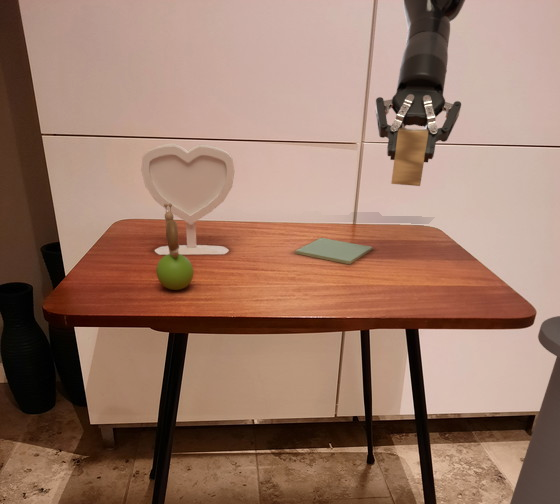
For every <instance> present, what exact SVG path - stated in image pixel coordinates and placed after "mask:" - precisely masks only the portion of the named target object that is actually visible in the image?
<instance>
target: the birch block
mask: <svg viewBox="0 0 560 504" xmlns="http://www.w3.org/2000/svg"><path fill="white" fill-rule="evenodd" d="M427 138H428V129H424V128H416V127H415V128H414V127H405V128H399V130H398V135H397V143H396V152H395V158H394V160H393V168H392V174H391V175H392V176H391V181H390V184H391V185H402V186H415V187H421V182H422V177H423V171H424V163H425V162H424V158H425V151H426V145H427Z"/></svg>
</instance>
